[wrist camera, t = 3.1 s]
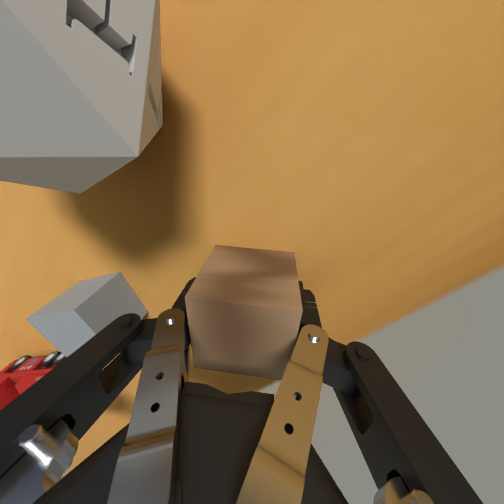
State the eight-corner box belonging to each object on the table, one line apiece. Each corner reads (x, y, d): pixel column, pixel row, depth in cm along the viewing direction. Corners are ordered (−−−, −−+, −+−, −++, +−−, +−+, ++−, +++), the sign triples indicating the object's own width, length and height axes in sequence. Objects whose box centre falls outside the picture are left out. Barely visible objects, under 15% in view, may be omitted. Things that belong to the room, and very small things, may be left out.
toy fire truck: (14, 356, 23) (-143, 483, 14) (111, 343, 19) (-17, 498, 11) (36, 374, 24) (-95, 499, 16) (130, 364, 21) (29, 516, 12)
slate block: (121, 271, 15) (73, 309, 12) (148, 310, 17) (114, 354, 13) (80, 280, 16) (25, 319, 13) (110, 316, 18) (69, 359, 14)
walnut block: (294, 252, 13) (302, 310, 8) (284, 311, 15) (286, 380, 11) (215, 245, 13) (184, 297, 9) (218, 303, 15) (194, 367, 11)
